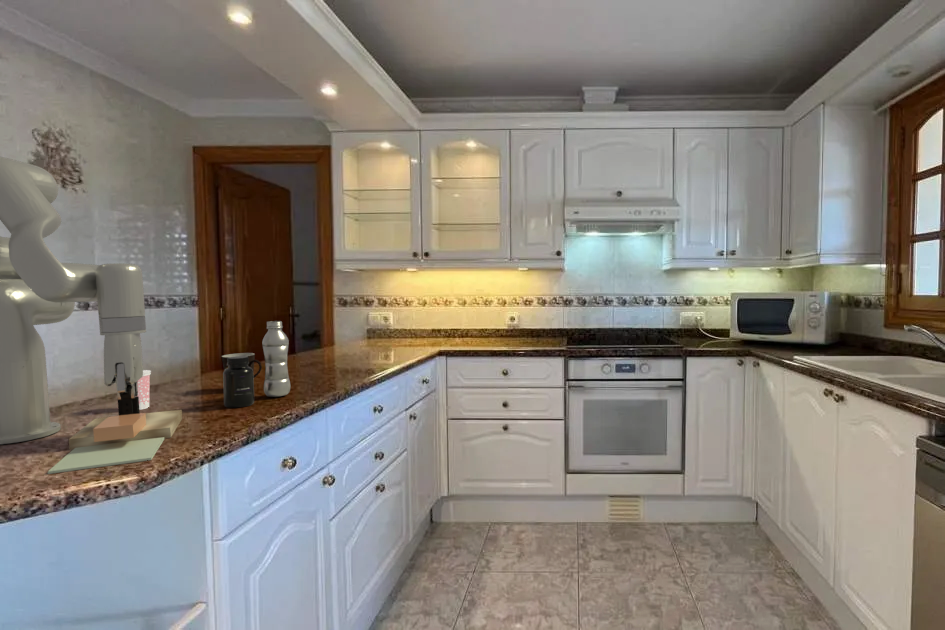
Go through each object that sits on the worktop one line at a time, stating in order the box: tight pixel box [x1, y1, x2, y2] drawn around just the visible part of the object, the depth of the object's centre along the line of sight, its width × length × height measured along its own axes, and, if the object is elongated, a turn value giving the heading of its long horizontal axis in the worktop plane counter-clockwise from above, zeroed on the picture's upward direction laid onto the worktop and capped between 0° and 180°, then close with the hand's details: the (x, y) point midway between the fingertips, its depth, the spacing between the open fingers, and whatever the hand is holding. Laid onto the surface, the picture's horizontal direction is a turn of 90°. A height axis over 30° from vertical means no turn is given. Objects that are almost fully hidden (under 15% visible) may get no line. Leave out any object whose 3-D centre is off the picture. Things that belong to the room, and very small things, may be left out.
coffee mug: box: [221, 352, 263, 379], centre depth 142 cm, size 12×9×10 cm
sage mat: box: [47, 437, 165, 475], centre depth 88 cm, size 14×13×1 cm
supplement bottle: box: [222, 356, 255, 409], centre depth 123 cm, size 7×7×12 cm
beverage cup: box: [135, 369, 152, 410], centre depth 123 cm, size 6×6×14 cm
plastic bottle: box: [261, 320, 291, 398], centre depth 132 cm, size 6×7×20 cm
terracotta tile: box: [93, 412, 147, 442], centre depth 94 cm, size 6×9×2 cm, turn 21°
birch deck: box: [68, 409, 183, 451], centre depth 101 cm, size 16×16×2 cm
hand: (129, 417), depth 100 cm, fingers closed
